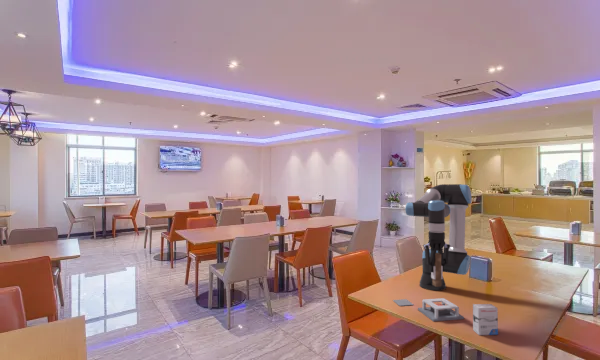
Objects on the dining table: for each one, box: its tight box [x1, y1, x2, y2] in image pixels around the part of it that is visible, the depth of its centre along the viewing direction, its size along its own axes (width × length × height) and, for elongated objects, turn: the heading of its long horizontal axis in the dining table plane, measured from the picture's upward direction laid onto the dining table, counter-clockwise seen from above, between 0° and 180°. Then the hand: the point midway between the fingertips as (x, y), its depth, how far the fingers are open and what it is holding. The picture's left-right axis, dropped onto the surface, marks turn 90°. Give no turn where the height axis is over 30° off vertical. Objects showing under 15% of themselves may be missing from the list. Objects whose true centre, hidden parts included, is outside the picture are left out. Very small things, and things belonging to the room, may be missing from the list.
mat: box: [392, 298, 414, 307], centre depth 175 cm, size 8×8×1 cm
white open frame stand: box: [417, 297, 465, 322], centre depth 160 cm, size 16×14×6 cm
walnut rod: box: [432, 253, 441, 287], centre depth 160 cm, size 3×3×16 cm
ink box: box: [472, 303, 499, 336], centre depth 140 cm, size 8×5×12 cm, turn 92°
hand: (436, 278), depth 160 cm, fingers closed on walnut rod, 3 cm apart
